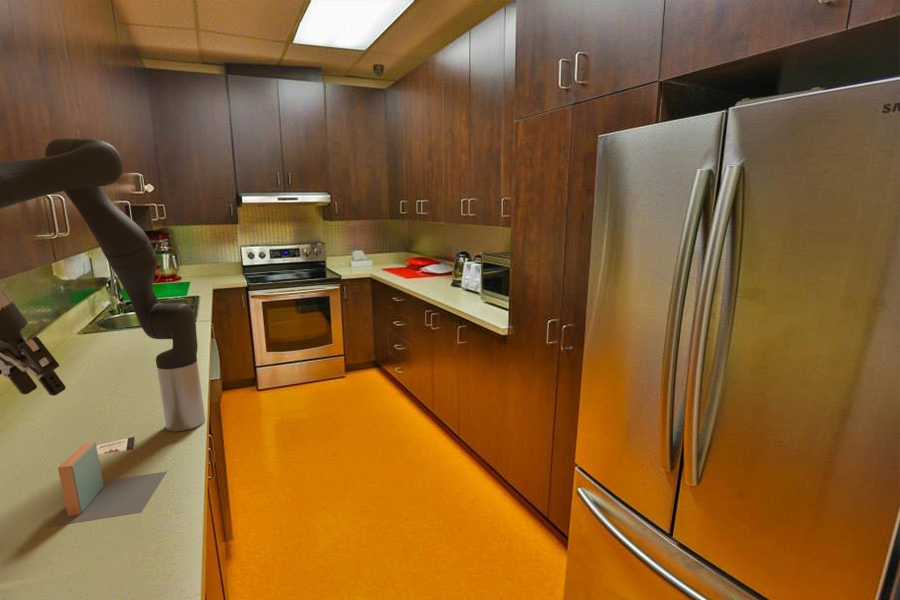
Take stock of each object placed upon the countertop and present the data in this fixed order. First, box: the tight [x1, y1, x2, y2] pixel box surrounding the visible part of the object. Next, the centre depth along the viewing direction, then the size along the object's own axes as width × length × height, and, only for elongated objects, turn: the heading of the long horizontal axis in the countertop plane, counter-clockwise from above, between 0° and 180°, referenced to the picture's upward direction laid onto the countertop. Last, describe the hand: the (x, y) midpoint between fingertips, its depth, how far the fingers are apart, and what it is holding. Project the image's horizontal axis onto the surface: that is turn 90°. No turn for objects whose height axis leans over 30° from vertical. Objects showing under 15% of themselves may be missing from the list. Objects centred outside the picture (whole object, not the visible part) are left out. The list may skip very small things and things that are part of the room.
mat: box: [47, 471, 168, 528], centre depth 90 cm, size 14×15×1 cm
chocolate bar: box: [96, 436, 135, 455], centre depth 105 cm, size 9×1×18 cm
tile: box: [57, 441, 104, 516], centre depth 88 cm, size 9×2×10 cm, turn 14°
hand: (44, 391), depth 78 cm, fingers open, 8 cm apart
